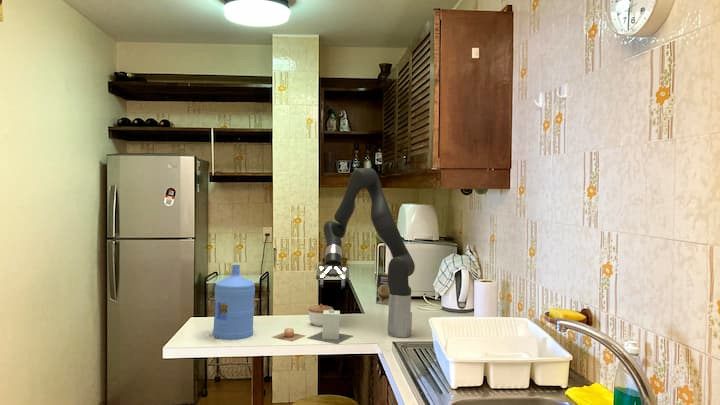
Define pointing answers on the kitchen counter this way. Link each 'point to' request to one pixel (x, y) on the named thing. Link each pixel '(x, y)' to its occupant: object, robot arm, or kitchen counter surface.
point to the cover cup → (331, 324)
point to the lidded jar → (317, 314)
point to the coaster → (283, 337)
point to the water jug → (234, 306)
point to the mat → (341, 338)
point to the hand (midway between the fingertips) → (332, 287)
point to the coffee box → (382, 289)
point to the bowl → (288, 332)
